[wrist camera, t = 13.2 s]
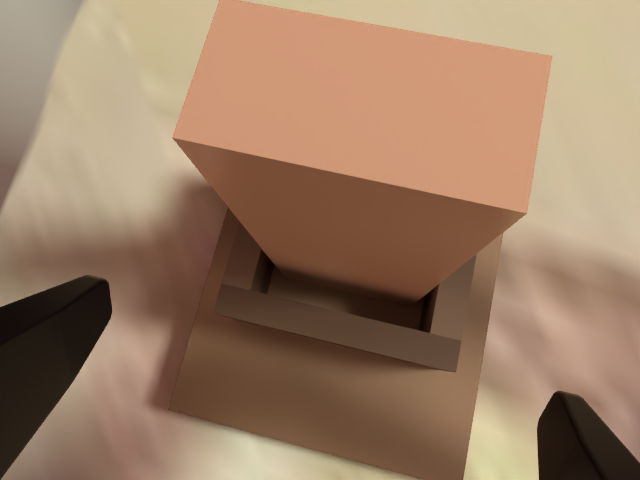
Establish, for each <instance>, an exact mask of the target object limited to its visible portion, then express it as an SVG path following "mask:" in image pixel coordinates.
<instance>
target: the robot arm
mask: <svg viewBox="0 0 640 480" xmlns="http://www.w3.org/2000/svg"><path fill="white" fill-rule="evenodd" d="M111 314H112V305H111V297H110V289H109V283H108V282H107V280H105V279H103V278H99V277H95V276H91V275H85V276H82V277H80V278H77V279H74V280H72V281H69V282H66V283H64V284H61V285H58V286H56V287H53V288H50V289H48V290H45V291H42V292H40V293H37V294H34V295H32V296H29V297H26V298H24V299H21V300H18V301H15V302H13V303H10V304H7V305H5V306H2V307H0V480H1V478H2V477H3V476H4V474H5V473H6V472H7V470H8V469H9V468H10V466H11V465H12V463H13V462H14V461H15V459H16V458H17V457H18V455H19V454H20V453H21V451H22V450H23V449H24V447H25V446H26V445H27V443H28V442H29V441H30V439H31V438H32V437H33V435H34V434H35V433H36V431H37V430H38V429H39V427H40V426H41V425H42V423H43V422H44V420H45V419H46V418H47V416H48V415H49V414H50V412H51V411H52V410H53V408H54V407H55V406H56V404H57V403H58V402H59V400H60V399H61V398H62V396H63V395H64V394H65V392H66V391H67V389H68V388H69V387H70V385H71V384H72V382H73V381H74V379H75V378H76V376H77V374H78V373H79V371H80V370H81V368H82V366H83V364H84V363H85V361H86V359H87V358H88V356H89V354H90V353H91V351H92V349H93V348H94V346H95V344H96V343H97V341H98V339H99V337H100V336H101V334H102V332H103V331H104V329H105V327H106V326H107V324H108V322H109V320H110V318H111ZM537 441H538V466H539V480H640V463H639V461H638V460H637V459H636V458H635V457H634V456H633V455H632V454H631V452H630V451H629V450H628V449H627V448H626V447H625V446H624V444H623V443H622V442H621V441H620V440H619V439H618V438H617V436H616V435H615V434H614V433H613V432H612V431H611V430H610V428H609V427H608V426H607V425H606V424H605V423H604V422H603V421H602V419H601V418H600V417H599V416H598V415H597V414H596V413H595V411H594V410H593V409H592V408H591V407H590V406H589V405H588V403H587V402H586V401H585V400H584V399H583V398H582V397H580V396H579V395H576V394H572V393H568V392H563V391H557V392H555V393H554V394H553V395H552V397H551V399H550V401H549V402H548V404H547V406H546V408H545V409H544V411H543V413H542V415H541V416H540V418H539V421H538V426H537Z"/></svg>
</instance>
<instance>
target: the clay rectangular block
mask: <svg viewBox="0 0 640 480" xmlns="http://www.w3.org/2000/svg"><path fill="white" fill-rule="evenodd" d="M551 61H552V56H549V55H543V54H538V53H532V52H526V51H521V50H515V49H509V48H504V47H498V46H493V45H487V44H481V43H476V42H470V41H464V40H459V39H453V38H447V37H442V36H436V35H430V34H425V33H419V32H413V31H408V30H402V29H396V28H391V27H385V26H379V25H374V24H368V23H362V22H357V21H351V20H346V19H340V18H334V17H329V16H323V15H317V14H312V13H306V12H300V11H295V10H289V9H283V8H278V7H272V6H266V5H261V4H255V3H249V2H244V1H238V0H219V3H218V6H217V9H216V12H215V15H214V18H213V21H212V23H211V26H210V29H209V32H208V35H207V38H206V41H205V44H204V47H203V50H202V53H201V55H200V58H199V61H198V64H197V67H196V70H195V73H194V76H193V79H192V82H191V85H190V88H189V90H188V93H187V96H186V99H185V102H184V105H183V108H182V111H181V114H180V117H179V120H178V122H177V125H176V128H175V131H174V134H173V137H172V138H173V139H174V140H175V142H176V143H177V144H178V145H179V147H180V148H181V149H182V150H183V152H184V153H185V154H186V155H187V157H188V158H189V159H190V160H191V161H192V163H193V164H194V165H195V166H196V168H197V169H198V170H199V171H200V173H201V174H202V175H203V176H204V178H205V179H206V180H207V181H208V183H209V184H210V185H211V186H212V188H213V189H214V190H215V191H216V193H217V194H218V195H219V196H220V198H221V199H222V200H223V201H224V202H225V204H226V205H227V206H228V207H229V209H230V210H231V211H232V212H233V214H234V215H235V216H236V217H237V219H238V220H239V221H240V222H241V224H242V225H243V226H244V227H245V229H246V230H247V231H248V232H249V234H250V235H251V236H252V237H253V239H254V240H255V241H256V242H257V243H258V245H259V246H260V247H261V248H262V250H263V251H264V252H265V253H266V255H267V256H268V257H269V258H270V260H271V261H272V262H273V263H274V265H275V266H276V267H277V268H278V270H279V271H280V272H281V273H282V275H283V276H284V277H286V278H290V279H294V280H298V281H302V282H306V283H311V284H315V285H319V286H323V287H327V288H331V289H335V290H339V291H344V292H348V293H352V294H356V295H360V296H364V297H368V298H373V299H377V300H381V301H385V302H389V303H393V304H397V305H402V306H406V307H411V306H412V305H413V304H415V303H416V302H417V301H418V300H420V299H421V298H422V297H423V296H425V295H426V294H427V293H428V292H430V291H431V290H432V289H433V288H435V287H436V286H437V285H438V284H440V283H441V282H442V281H443V280H445V279H446V278H447V277H448V276H450V275H451V274H452V273H453V272H455V271H456V270H457V269H458V268H459V267H461V266H462V265H463V264H464V263H466V262H467V261H468V260H469V259H471V258H472V257H473V256H474V255H476V254H477V253H478V252H479V251H481V250H482V249H483V248H484V247H486V246H487V245H488V244H489V243H491V242H492V241H493V240H494V239H496V238H497V237H498V236H499V235H501V234H502V233H503V232H504V231H506V230H507V229H508V228H509V227H511V226H512V225H513V224H514V223H516V222H517V221H518V220H519V219H521V218H522V217H523V216H524V215H526V214H527V209H528V203H529V197H530V191H531V185H532V178H533V172H534V166H535V160H536V154H537V147H538V141H539V135H540V129H541V123H542V116H543V110H544V104H545V98H546V92H547V85H548V79H549V73H550V67H551Z"/></svg>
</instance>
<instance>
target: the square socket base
mask: <svg viewBox="0 0 640 480" xmlns="http://www.w3.org/2000/svg"><path fill="white" fill-rule="evenodd" d="M502 237H503V233H502V234H501V235H499V236H498V237H497V238H496V239H494V240H493V241H492V242H491V243H489V244H488V245H487V246H486V247H484V248H483V249H482V250H481V251H479V252H478V253H477V254H476V255H474V256H473V257H472V258H471V259H469V260H468V261H467V262H466V263H464V264H463V265H462V266H461V267H459V268H458V269H457V270H456V271H455V272H453V273H452V274H451V275H450V276H448V277H447V278H446V279H445V280H443V281H442V282H441V283H440V284H438V285H437V286H436V287H435V288H433V289H432V290H431V291H430V292H428V293H427V294H426V295H425V296H423V297H422V298H421V299H420V300H418V301H417V302H416V303H415V304H413V305H412V306H411V307H406V306H402V305H397V304H393V303H389V302H385V301H381V300H377V299H373V298H368V297H364V296H360V295H356V294H352V293H348V292H344V291H339V290H335V289H331V288H327V287H323V286H319V285H315V284H311V283H306V282H302V281H298V280H294V279H290V278H286V277H284V276H283V275H282V273H281V272H280V271H279V270H278V268H277V267H276V266H275V265H274V263H273V262H272V261H271V260H270V258H269V257H268V256H267V255H266V253H265V252H264V251H263V250H262V248H261V247H260V246H259V245H258V243H257V242H256V241H255V240H254V239H253V237H252V236H251V235H250V234H249V232H248V231H247V230H246V229H245V227H244V226H243V225H242V224H241V222H240V221H239V220H238V219H237V217H236V216H235V215H234V214H233V212H232V211H231V210H230V209H229V207H228V210H227V213H226V217H225V220H224V223H223V227H222V230H221V234H220V237H219V240H218V244H217V247H216V250H215V254H214V257H213V261H212V264H211V267H210V271H209V274H208V277H207V281H206V284H205V287H204V291H203V294H202V298H201V301H200V304H199V308H198V311H197V314H196V318H195V321H194V325H193V328H192V331H191V335H190V338H189V341H188V345H187V348H186V351H185V355H184V358H183V362H182V365H181V368H180V372H179V375H178V378H177V382H176V385H175V389H174V392H173V395H172V399H171V402H170V405H169V409H168V410H172V411H175V412H179V413H183V414H186V415H190V416H194V417H197V418H201V419H205V420H208V421H212V422H216V423H219V424H223V425H227V426H230V427H234V428H238V429H241V430H245V431H249V432H252V433H256V434H260V435H263V436H267V437H271V438H275V439H278V440H282V441H286V442H289V443H293V444H297V445H300V446H304V447H308V448H311V449H315V450H319V451H322V452H326V453H330V454H333V455H337V456H341V457H344V458H348V459H352V460H355V461H359V462H363V463H366V464H370V465H374V466H377V467H381V468H385V469H388V470H392V471H396V472H399V473H403V474H407V475H410V476H414V477H418V478H421V479H425V480H463V477H464V470H465V464H466V458H467V452H468V446H469V440H470V434H471V427H472V421H473V415H474V409H475V403H476V397H477V390H478V384H479V378H480V372H481V366H482V360H483V354H484V347H485V341H486V335H487V329H488V323H489V317H490V311H491V304H492V298H493V292H494V286H495V280H496V274H497V267H498V261H499V255H500V249H501V243H502Z"/></svg>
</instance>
